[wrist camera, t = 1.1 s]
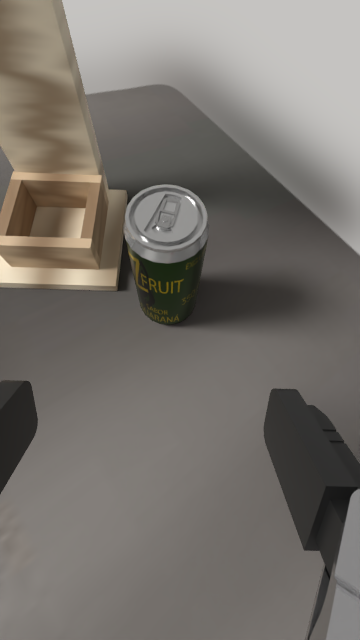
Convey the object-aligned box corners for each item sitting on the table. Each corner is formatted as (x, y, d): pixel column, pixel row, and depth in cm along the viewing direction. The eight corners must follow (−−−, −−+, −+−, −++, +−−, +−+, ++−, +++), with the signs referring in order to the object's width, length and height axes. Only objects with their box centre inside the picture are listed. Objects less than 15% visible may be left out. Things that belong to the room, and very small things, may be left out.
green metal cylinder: (149, 272, 30) (137, 173, 19) (200, 284, 29) (219, 192, 18) (132, 319, 28) (107, 240, 17) (187, 333, 27) (199, 263, 16)
